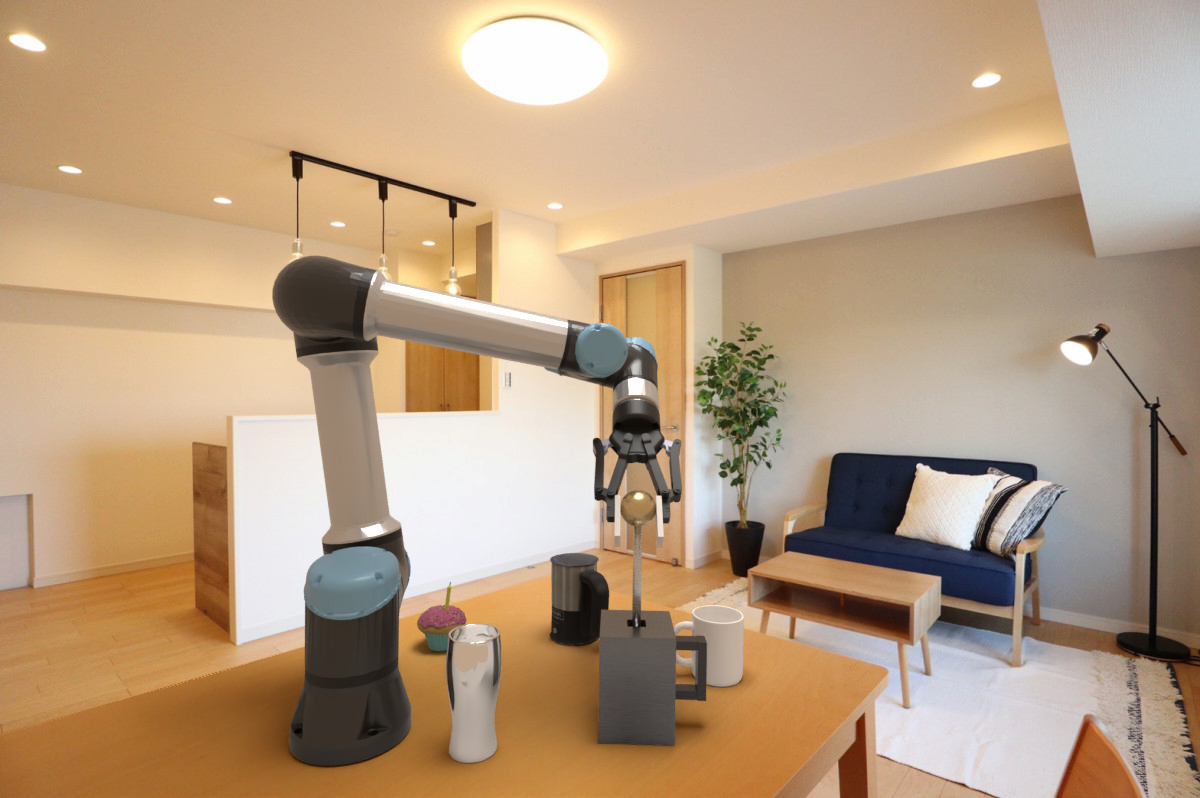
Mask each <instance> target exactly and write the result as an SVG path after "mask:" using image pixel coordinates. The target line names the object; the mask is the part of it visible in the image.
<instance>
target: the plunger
mask: <svg viewBox="0 0 1200 798" xmlns="http://www.w3.org/2000/svg"><path fill="white" fill-rule="evenodd" d="M655 502H656V500H655V499H654V498H653V496H652V495H651V494H650V493H648V492H647V491H645V490H641V489H635V490H632V491H628V492H626V494H625V495H624V496H623V498H622V499H621V500H620V516H621V517H622V519H623V521H624V522H626V523H627V524H629V525H630V526H632V527H633V528H632V529H633V534H632V538H633V539H632V540H633V542H632V546H633V547H632V548H633V549H632V604H631V605H632V608H631V610H632V627H641V610H642V569H643V568H642V567H643V566H642V564H643V563H642V559H643V555H642V554H643V527H644V526H647V525H648V524H650V523H651V522H652V521H653V519H654V518H655V513H656V504H655Z"/></svg>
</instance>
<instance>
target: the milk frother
mask: <svg viewBox="0 0 1200 798" xmlns="http://www.w3.org/2000/svg"><path fill="white" fill-rule="evenodd" d="M599 560H600V559H599V557H598V556H596V555H594V554H591V553H590V554H589V553H586V552H585V553H584V552H582V553H581V552H567V553H566V552H565V553H560V554H555V555H553V556H551V557H550V558H549V561H550V563H551V623H550V633H549V639H550V640H551V641H553V642H555V643H556V644H559V645H566V646H567V645H568V646H579V645H586V644H590V643H593V642H594V641H596V640H597V639H598V638H600V623H601V610H610V589H609V588H610V587H609V584H608V581H607V579H606V578H605V576H604V575H603V574H602V573H601V572H598V562H599Z"/></svg>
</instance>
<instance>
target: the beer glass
mask: <svg viewBox="0 0 1200 798" xmlns="http://www.w3.org/2000/svg"><path fill="white" fill-rule="evenodd" d="M445 661H446V662H445V679H446V688H447V694H448V701H449V707H450V712H451V713H450V714H451V723H452V724H451V733H450V734H451V735H450V740H449V746H448V754H449V756H450V757H451V758H452V759H453V760H454V761H456V762H459V763H463V764H474V763H479V762H482V761H485V760H487V759H489V758H491V757H492V756H493V755H494V754H495V753H496V751H497V748H498V739H497V733H496V727H495V713H496V706H497V701H498V697H499V691H500V685H501V677H502V666H503V665H502V661H503V660H502V642H501V629H500V628H499V627H497V626H496V625H494V624H489V623H485V622H484V623H482V622H481V623H480V622H475V623H473V622H472V623H466V624H465V625H461V626H458V627H456V628H454V629H452V630H451V631H450V632H449V634H448V646H447V651H446V659H445Z"/></svg>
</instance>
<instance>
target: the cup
mask: <svg viewBox="0 0 1200 798" xmlns="http://www.w3.org/2000/svg"><path fill="white" fill-rule="evenodd" d="M744 618H745V617H744V614H743V613H742V612H741V611H740V610H739V609H736V608H733V607H729V606H726V605H725V606H724V605H719V604H708V605H700V606H697V607H695V608H694V609H693V610H691V621H688V620H687V621H686V620H685V621H680V622H677V623H676V624H675V625H673V628H674V631H675V635H676V636H679V633H680V632H681V631H682V630H688V631H691V636H705V639H706V641H707V680H706V686H711V687H717V688H718V687H719V688H721V687H722V688H724V687H725V688H727V687H732V686H735V685H737V684H739V683H740V682H741V680H742V678H743V673H744V628H745V627H744V622H745V619H744ZM690 652H691V653H690V654H691V657H681V656H680V655H679V654H678V650H676V664H678V665H680V666H682V667H686V668H687V667H688V668H689V667H691V673H692V676H693V677H694V678H695V660H696V651H692V650H690Z"/></svg>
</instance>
